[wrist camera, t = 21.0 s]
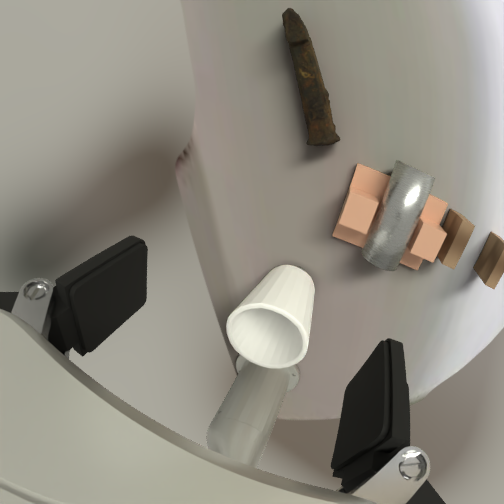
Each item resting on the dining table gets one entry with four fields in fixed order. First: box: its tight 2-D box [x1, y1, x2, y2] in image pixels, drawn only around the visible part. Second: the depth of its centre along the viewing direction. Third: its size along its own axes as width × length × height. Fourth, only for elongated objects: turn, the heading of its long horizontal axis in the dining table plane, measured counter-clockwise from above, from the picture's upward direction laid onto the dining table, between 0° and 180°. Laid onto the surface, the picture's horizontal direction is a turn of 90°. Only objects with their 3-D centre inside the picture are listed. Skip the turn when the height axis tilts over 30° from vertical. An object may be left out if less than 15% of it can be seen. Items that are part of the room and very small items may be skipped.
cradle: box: [332, 163, 448, 270], centre depth 31 cm, size 10×13×4 cm
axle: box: [362, 160, 435, 271], centre depth 29 cm, size 12×5×5 cm, turn 166°
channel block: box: [437, 209, 504, 289], centre depth 27 cm, size 6×10×5 cm, turn 76°
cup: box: [226, 265, 315, 368], centre depth 36 cm, size 10×10×13 cm
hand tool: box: [282, 8, 340, 146], centre depth 27 cm, size 19×4×5 cm, turn 10°
